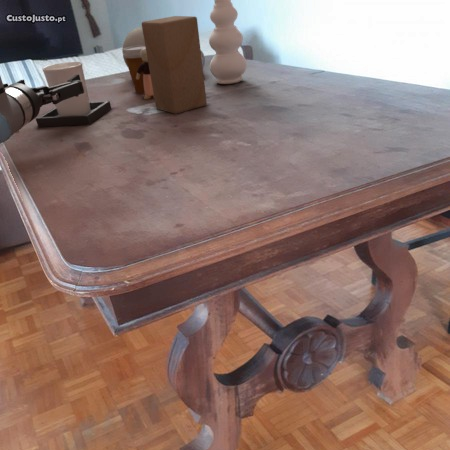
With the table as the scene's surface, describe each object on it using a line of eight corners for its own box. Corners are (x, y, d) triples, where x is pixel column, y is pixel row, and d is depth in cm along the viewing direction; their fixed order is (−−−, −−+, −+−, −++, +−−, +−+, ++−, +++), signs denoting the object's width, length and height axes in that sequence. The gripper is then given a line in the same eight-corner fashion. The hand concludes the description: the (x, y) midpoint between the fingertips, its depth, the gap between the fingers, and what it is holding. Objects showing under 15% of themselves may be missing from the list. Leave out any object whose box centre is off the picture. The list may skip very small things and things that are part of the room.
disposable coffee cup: (128, 96, 140) (119, 51, 133) (132, 89, 148) (124, 46, 141) (160, 93, 140) (153, 47, 133) (162, 86, 148) (155, 43, 141)
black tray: (38, 127, 122) (35, 118, 120) (63, 111, 133) (61, 103, 132) (89, 124, 119) (87, 115, 117) (111, 108, 130) (109, 100, 129)
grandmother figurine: (142, 100, 134) (132, 51, 127) (139, 98, 137) (129, 49, 130) (168, 95, 136) (160, 46, 129) (164, 93, 139) (156, 45, 132)
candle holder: (100, 113, 124) (87, 63, 117) (64, 122, 120) (49, 71, 113) (85, 108, 131) (73, 60, 124) (51, 116, 127) (36, 67, 120)
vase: (236, 87, 136) (227, -17, 122) (204, 86, 141) (193, -14, 127) (254, 78, 143) (248, -21, 129) (223, 78, 149) (214, -18, 134)
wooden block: (175, 114, 118) (160, 22, 106) (155, 108, 125) (140, 21, 113) (207, 105, 122) (197, 16, 111) (187, 100, 129) (175, 15, 118)
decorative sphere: (125, 77, 166) (116, 28, 158) (167, 70, 169) (160, 22, 160) (130, 84, 154) (119, 32, 146) (175, 77, 157) (167, 25, 148)
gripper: (-35, 130, 99) (7, 104, 116) (79, 120, 97) (106, 95, 114) (-51, 92, 95) (-4, 70, 112) (69, 81, 92) (98, 60, 109)
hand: (51, 83), depth 113 cm, fingers open, 13 cm apart
